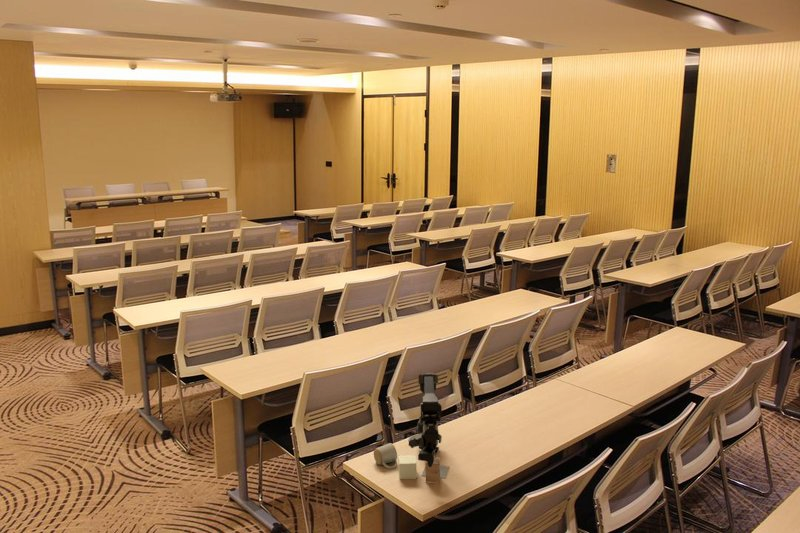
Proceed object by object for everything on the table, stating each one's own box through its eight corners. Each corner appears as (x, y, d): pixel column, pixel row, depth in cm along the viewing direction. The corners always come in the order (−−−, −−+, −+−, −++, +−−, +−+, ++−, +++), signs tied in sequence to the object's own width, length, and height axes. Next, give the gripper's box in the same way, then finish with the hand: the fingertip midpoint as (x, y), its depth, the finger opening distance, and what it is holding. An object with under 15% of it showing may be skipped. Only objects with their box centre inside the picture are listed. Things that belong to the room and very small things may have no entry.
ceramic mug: (372, 461, 296) (372, 444, 294) (388, 456, 300) (388, 440, 298) (385, 471, 287) (385, 455, 285) (401, 466, 291) (401, 450, 289)
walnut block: (427, 475, 283) (427, 456, 280) (439, 477, 281) (439, 457, 279) (425, 482, 278) (425, 462, 276) (437, 483, 277) (437, 463, 274)
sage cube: (398, 470, 287) (398, 455, 286) (415, 470, 288) (415, 455, 286) (399, 479, 281) (399, 463, 279) (416, 478, 281) (416, 463, 279)
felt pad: (426, 464, 292) (426, 464, 292) (449, 466, 290) (449, 466, 290) (421, 476, 283) (421, 475, 283) (445, 478, 280) (445, 478, 280)
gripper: (415, 418, 280) (415, 453, 283) (405, 439, 262) (405, 476, 265) (441, 421, 277) (441, 456, 280) (433, 441, 259) (433, 479, 263)
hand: (430, 466), depth 272 cm, fingers closed
